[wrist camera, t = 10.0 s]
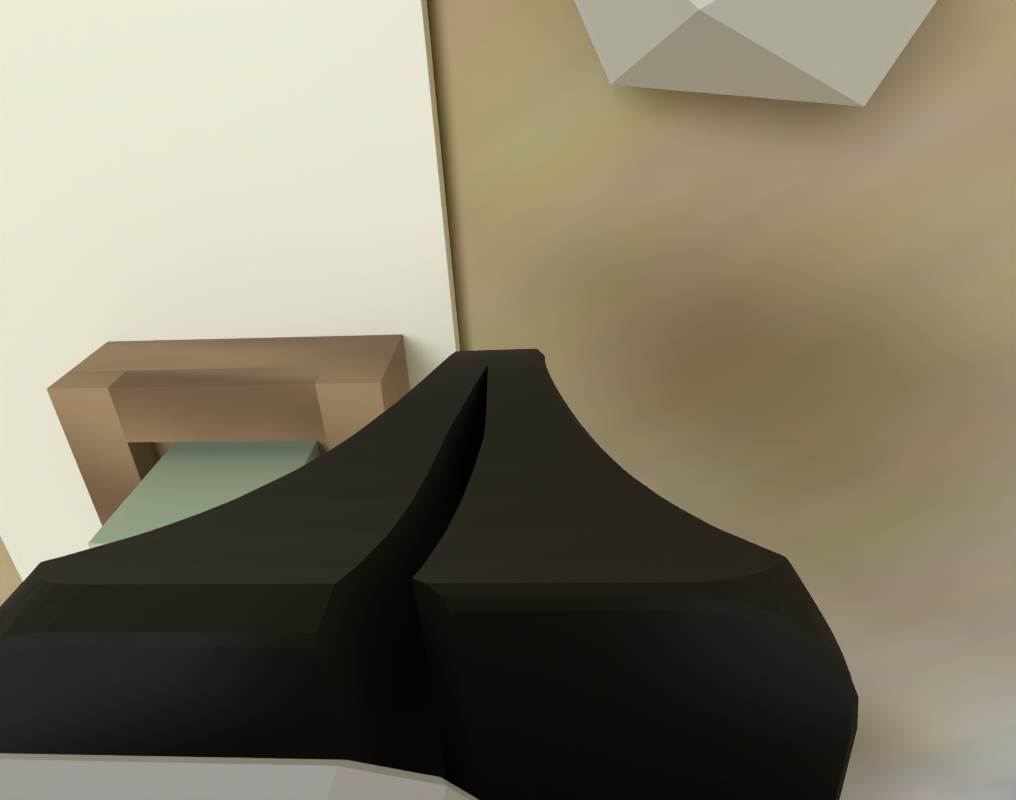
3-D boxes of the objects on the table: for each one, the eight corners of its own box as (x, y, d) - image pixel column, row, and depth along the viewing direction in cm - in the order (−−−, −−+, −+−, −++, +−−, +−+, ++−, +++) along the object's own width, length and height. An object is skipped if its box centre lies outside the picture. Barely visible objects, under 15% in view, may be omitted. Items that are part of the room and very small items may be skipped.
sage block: (341, 554, 23) (294, 670, 19) (211, 553, 23) (139, 667, 19) (317, 440, 21) (260, 544, 17) (175, 441, 21) (87, 543, 17)
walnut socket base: (435, 570, 26) (420, 637, 23) (187, 569, 26) (146, 633, 24) (402, 334, 21) (380, 382, 19) (107, 341, 22) (46, 388, 20)
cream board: (482, 587, 27) (480, 603, 26) (45, 585, 28) (32, 599, 28) (411, -158, 16) (404, -164, 16) (-282, -101, 18) (-316, -104, 17)
